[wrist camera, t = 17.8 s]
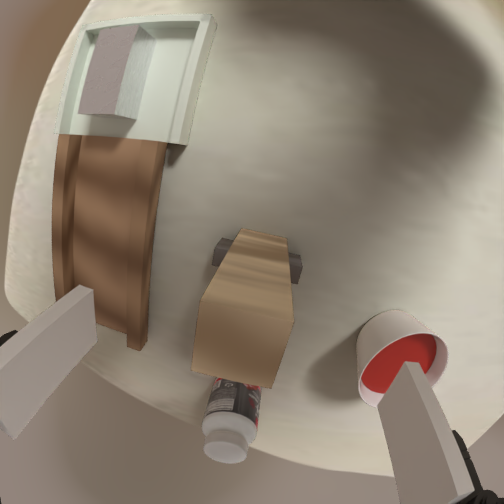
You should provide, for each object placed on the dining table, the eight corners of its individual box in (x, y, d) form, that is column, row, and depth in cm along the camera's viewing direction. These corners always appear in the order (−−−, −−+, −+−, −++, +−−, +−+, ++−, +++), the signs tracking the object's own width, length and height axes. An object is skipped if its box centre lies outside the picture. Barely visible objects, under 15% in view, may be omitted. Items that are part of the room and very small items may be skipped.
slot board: (77, 134, 24) (59, 134, 21) (171, 143, 24) (158, 141, 21) (72, 307, 30) (58, 318, 27) (150, 335, 30) (140, 351, 27)
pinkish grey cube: (111, 79, 21) (87, 69, 18) (146, 78, 21) (125, 67, 17) (102, 117, 23) (77, 113, 19) (136, 119, 23) (114, 114, 19)
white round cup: (425, 353, 28) (446, 387, 21) (353, 379, 29) (364, 419, 23) (420, 286, 25) (449, 316, 19) (337, 316, 27) (350, 355, 21)
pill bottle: (269, 394, 31) (264, 462, 21) (229, 405, 32) (215, 469, 22) (247, 362, 29) (235, 433, 20) (205, 376, 31) (183, 441, 21)
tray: (93, 31, 20) (82, 25, 18) (217, 24, 20) (211, 14, 18) (67, 134, 24) (53, 134, 22) (187, 145, 24) (178, 143, 21)
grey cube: (121, 42, 20) (100, 29, 16) (157, 40, 20) (138, 24, 16) (111, 79, 21) (87, 69, 18) (146, 78, 21) (125, 67, 18)
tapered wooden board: (224, 224, 25) (166, 291, 12) (303, 242, 25) (327, 328, 12) (217, 266, 26) (161, 361, 13) (292, 283, 26) (300, 393, 13)
